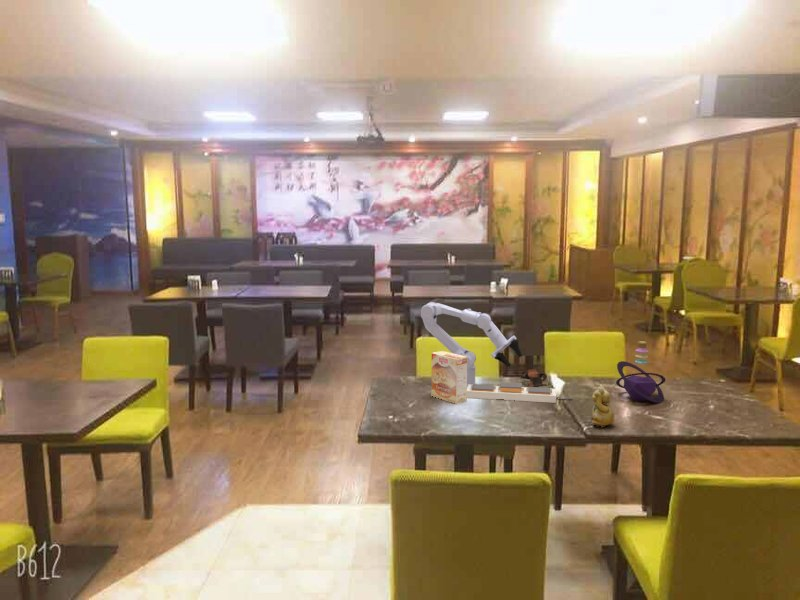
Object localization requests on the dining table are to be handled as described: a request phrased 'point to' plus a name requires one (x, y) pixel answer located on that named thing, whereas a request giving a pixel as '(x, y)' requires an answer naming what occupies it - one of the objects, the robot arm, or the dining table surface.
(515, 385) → the middle button
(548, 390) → the right button
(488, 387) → the left button
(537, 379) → the brown grey irregular piece
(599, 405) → the decorative figurine
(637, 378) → the decorative bottle
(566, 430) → the dining table surface
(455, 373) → the coffeecake box
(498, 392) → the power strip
